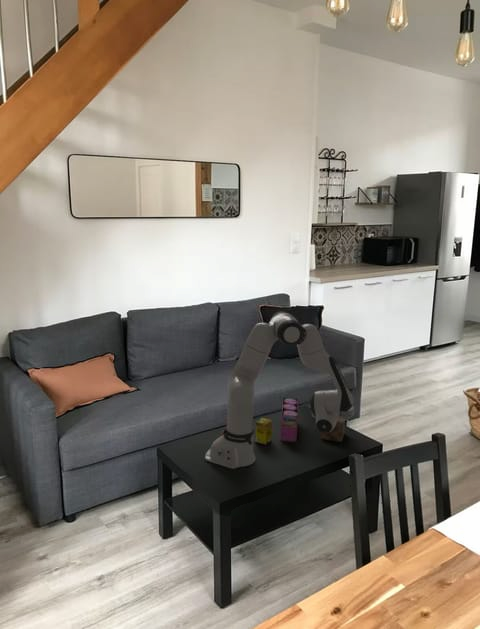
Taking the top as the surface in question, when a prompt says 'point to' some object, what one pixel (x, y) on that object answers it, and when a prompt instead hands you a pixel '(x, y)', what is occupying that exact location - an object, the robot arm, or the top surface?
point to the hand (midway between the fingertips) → (335, 402)
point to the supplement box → (263, 431)
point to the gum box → (289, 420)
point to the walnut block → (335, 432)
